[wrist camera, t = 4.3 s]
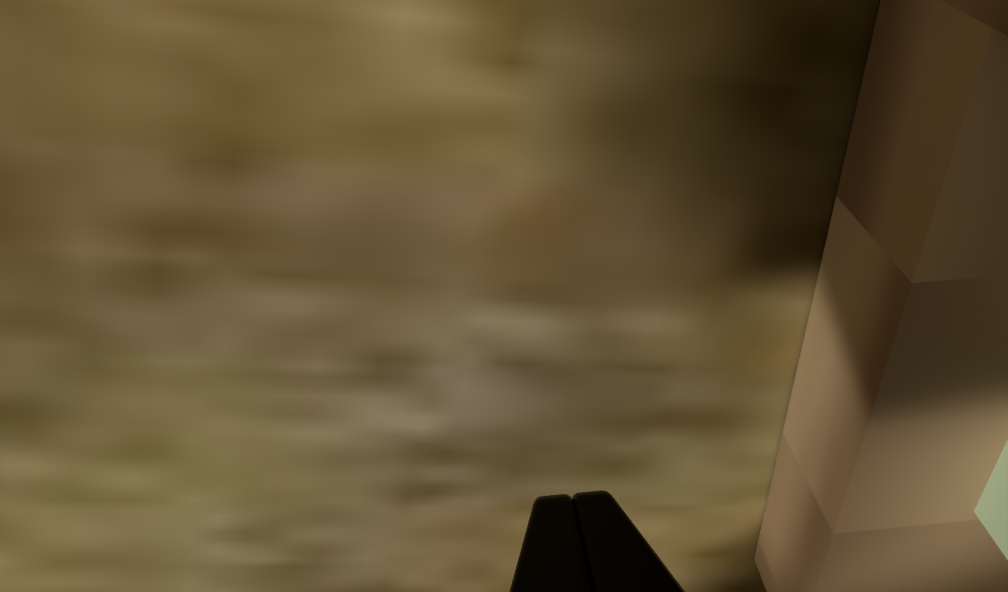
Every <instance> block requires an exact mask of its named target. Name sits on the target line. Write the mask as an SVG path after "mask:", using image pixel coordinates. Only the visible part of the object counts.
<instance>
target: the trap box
mask: <svg viewBox="0 0 1008 592" xmlns="http://www.w3.org/2000/svg"><path fill="white" fill-rule="evenodd" d="M1007 440H1008V0H880V5H879V9H878V14H877V18H876V22H875V27H874V31H873V36H872V40H871V44H870V49H869V53H868V58H867V62H866V67H865V71H864V75H863V80H862V84H861V89H860V93H859V97H858V102H857V106H856V111H855V115H854V120H853V124H852V128H851V133H850V137H849V142H848V146H847V150H846V155H845V159H844V164H843V168H842V173H841V177H840V181H839V186H838V190H837V195H836V199H835V203H834V208H833V212H832V217H831V221H830V226H829V230H828V234H827V239H826V243H825V248H824V252H823V256H822V261H821V265H820V270H819V274H818V279H817V283H816V287H815V292H814V296H813V301H812V305H811V309H810V314H809V318H808V323H807V327H806V332H805V336H804V340H803V345H802V349H801V354H800V358H799V362H798V367H797V371H796V376H795V380H794V385H793V389H792V393H791V398H790V402H789V407H788V411H787V415H786V420H785V424H784V429H783V433H782V438H781V442H780V446H779V451H778V455H777V460H776V464H775V468H774V473H773V477H772V482H771V486H770V491H769V495H768V499H767V504H766V508H765V513H764V517H763V521H762V526H761V530H760V535H759V539H758V544H757V548H756V552H755V557H754V560H755V563H756V566H757V568H758V571H759V573H760V576H761V578H762V581H763V583H764V586H765V589H766V591H767V592H1008V560H1007V558H1006V557H1005V556H1004V554H1003V553H1002V551H1001V550H1000V548H999V547H998V546H997V544H996V543H995V541H994V540H993V538H992V537H991V535H990V534H989V533H988V531H987V530H986V528H985V527H984V525H983V524H982V523H981V521H980V520H979V518H978V517H977V515H976V514H975V512H974V510H975V508H976V506H977V504H978V501H979V499H980V497H981V495H982V493H983V491H984V489H985V486H986V484H987V482H988V480H989V478H990V476H991V474H992V472H993V469H994V467H995V465H996V463H997V461H998V459H999V457H1000V454H1001V452H1002V450H1003V448H1004V446H1005V444H1006V442H1007Z"/></svg>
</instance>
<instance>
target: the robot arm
mask: <svg viewBox="0 0 1008 592" xmlns="http://www.w3.org/2000/svg"><path fill="white" fill-rule="evenodd" d="M510 592H685V591H684V590H683V588H682V587H681V586H680V584H679V583H678V582H677V581H676V579H675V578H674V577H673V575H672V574H671V573H670V571H669V570H668V569H667V567H666V566H665V565H664V563H663V562H662V561H661V559H660V558H659V557H658V556H657V554H656V553H655V552H654V550H653V549H652V548H651V546H650V545H649V544H648V542H647V541H646V540H645V538H644V537H643V536H642V534H641V533H640V532H639V531H638V529H637V528H636V527H635V525H634V524H633V523H632V521H631V520H630V519H629V517H628V516H627V515H626V513H625V512H624V511H623V510H622V508H621V507H620V506H619V504H618V503H617V502H616V500H615V499H614V498H613V497H612V495H611V494H609V493H608V492H606V491H592V492H581V493H576V494H575V495H574V496H573V498H571V497H570V496H569V495H566V494H560V495H550V496H541V497H538V498H537V499H536V500H535V502H534V504H533V508H532V511H531V515H530V519H529V522H528V526H527V530H526V533H525V537H524V541H523V544H522V548H521V552H520V555H519V559H518V563H517V566H516V570H515V574H514V577H513V581H512V585H511V588H510Z"/></svg>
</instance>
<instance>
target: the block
mask: <svg viewBox="0 0 1008 592" xmlns="http://www.w3.org/2000/svg"><path fill="white" fill-rule="evenodd" d="M974 512H975V514H976V515H977V517H978V518H979V520H980V521H981V523H982V524H983V525H984V527H985V528H986V530H987V531H988V533H989V534H990V535H991V537H992V538H993V540H994V541H995V543H996V544H997V546H998V547H999V548H1000V550H1001V551H1002V553H1003V554H1004V556H1005V557H1006V558H1007V560H1008V440H1007V442H1006V444H1005V446H1004V448H1003V450H1002V452H1001V454H1000V457H999V459H998V461H997V463H996V465H995V467H994V469H993V472H992V474H991V476H990V478H989V480H988V482H987V484H986V486H985V489H984V491H983V493H982V495H981V497H980V499H979V501H978V504H977V506H976V508H975V510H974Z"/></svg>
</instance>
